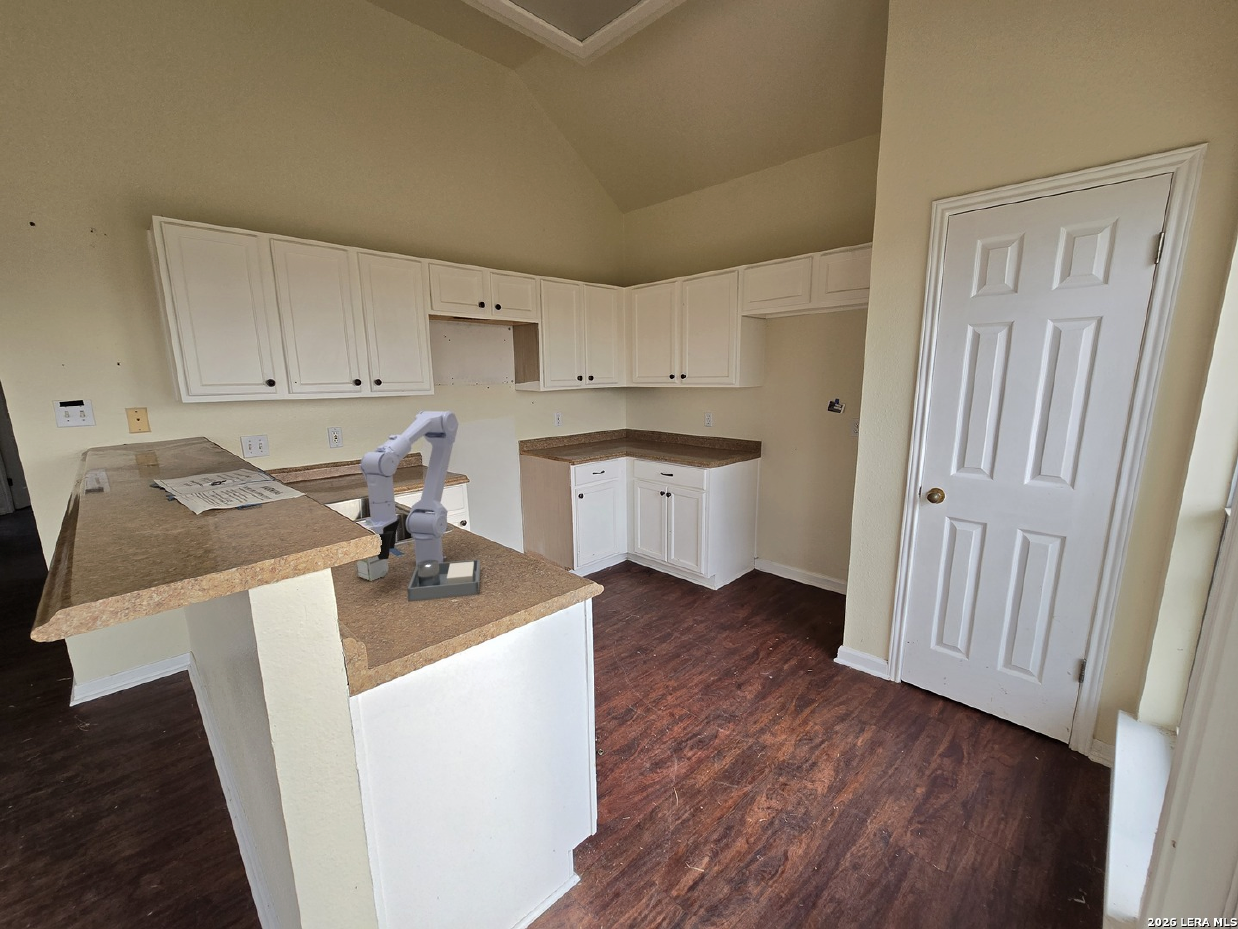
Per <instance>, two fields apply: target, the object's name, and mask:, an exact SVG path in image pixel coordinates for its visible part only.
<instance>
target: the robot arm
mask: <svg viewBox="0 0 1238 929" xmlns="http://www.w3.org/2000/svg"><path fill="white" fill-rule="evenodd" d="M414 416H415V417H414V421H413V422H412V423H411V424H410V425H409V426H408V427H407V428H406V429H405V430H404V431H403V432H402V433H401V434H391V435H390V436H389V437H388V439H387V440H386V441H385V442H384V443H382V444H381V445H379V446H378V447H376V449H375V451H368V452H366V453H365V454H364V455H363V456H362V457H361V459H360V464H359V466H358V468H359V470H360V472H361V473H362V474H363V476H364V481H365V482H366V483H367V484H366V485H367V493H368V494H367V495H368V496H367V497H368V506H369V514H370V517H366V519H365V522H366V523H371V525H372V526H373V531H374V532H375V533H376V534H379V535H380V537H381V540H382V545H381V552H380V554H379V555H377V556H378V558H379V560H382V559H387V560H388V559H389V557H390V550H392V549H395V546H396V538H397V532H398V528H399V525H400V523H401V519H400V518H398V516H397V511H396V501H395V492H394V491H395V489H394V478H393V475H394V474H395V473H396V472H397V469H398V466H399V464H400V462H401V461H402V460H403V459H404V458H405V457H406V456H407V455H408V454H410V453H411V451H412V445H413V444H415V442H417V441H418V440H420V439H421V438H422V437H424V439H425V440H426V441H427V442H428V443H430V444H431V446H432V447H431V452H430V456H429V461H428V466H427V469H426V474H425V475H426V476H425V479H424V484H423V487H422V488H423V489H422V493H421V497H420V500H418V501H417V502H415V503H414V504H412V506H411V507H410V508H411V509H410V511H409V514H408V515H407V517H406V520H405V528H406V531H407V532H408V533H409V534H411V535H410V536H411V537H412V538H413V544H414V558H415V567H416V566H417V564H418V563H419V562H422V561H425V560H437V561H438V562H439V563H443V562H444V559H446V558H447V556H445V555H443V554H444V553H443V542H442V541H443V540H442V536H443V535H444V534H445V532H446V531H447V527H448V514H449V513H448V510H447V508H446V507H444V505H443V504H442V503H441V501H442V498H443V493H444V488H445V482H446V478H447V474H448V469H449V465H450V460H451V456H452V455H451V454H452V451H453V445H454V443H455V442H456V438H457V437H456V436H457V432H458V427H459V422H458V418H457V417H456V414H455V413H454V412H453V411H451V410H447V411H441V410H440V411H439V410H438V411H437V410H435V411H434V410H421V411H419V412H418V413H417V414H416V415H414Z"/></svg>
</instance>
